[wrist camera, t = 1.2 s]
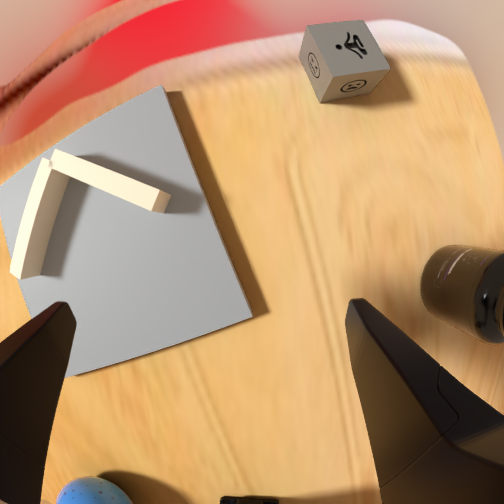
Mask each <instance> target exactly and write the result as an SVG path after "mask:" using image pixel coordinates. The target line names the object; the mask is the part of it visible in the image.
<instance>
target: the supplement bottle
mask: <svg viewBox="0 0 504 504" xmlns="http://www.w3.org/2000/svg"><path fill="white" fill-rule="evenodd" d="M421 296H422V300H423V303H424V305H425V307H426V308H427V310H428V311H429V312H430V313H431V314H432V315H434V316H435V317H437V318H439V319H441V320H442V321H444V322H446V323H448V324H450V325H452V326H454V327H456V328H457V329H459V330H461V331H463V332H465V333H467V334H469V335H470V336H472V337H474V338H476V339H478V340H480V341H481V342H484V343H486V344H489V345H498V344H502V343H504V251H503V250H494V249H486V248H477V247H468V246H458V245H449V246H445V247H443V248H441V249H439V250H438V251H436V252H435V253H434V254H433V255H432V256H431V257H430V259H429V260H428V262H427V263H426V265H425V268H424V270H423V273H422V277H421Z"/></svg>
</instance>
